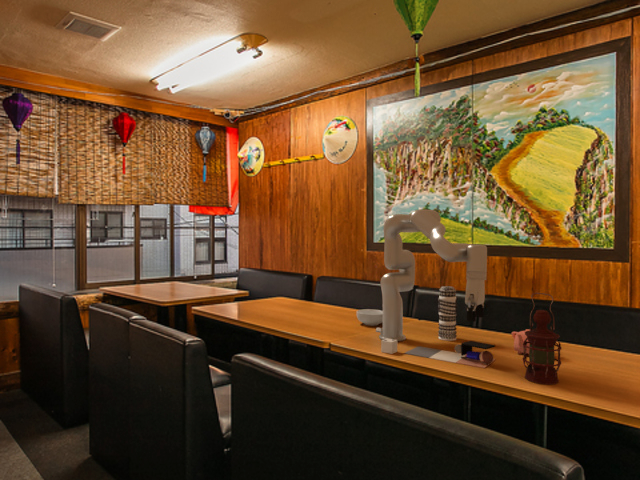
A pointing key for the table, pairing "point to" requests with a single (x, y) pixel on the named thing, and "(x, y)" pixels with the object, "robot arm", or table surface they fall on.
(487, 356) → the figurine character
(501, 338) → the table surface
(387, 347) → the die
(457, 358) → the game board
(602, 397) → the table surface
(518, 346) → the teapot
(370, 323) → the cereal bowl
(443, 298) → the decorative candle
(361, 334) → the table surface
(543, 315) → the lantern
